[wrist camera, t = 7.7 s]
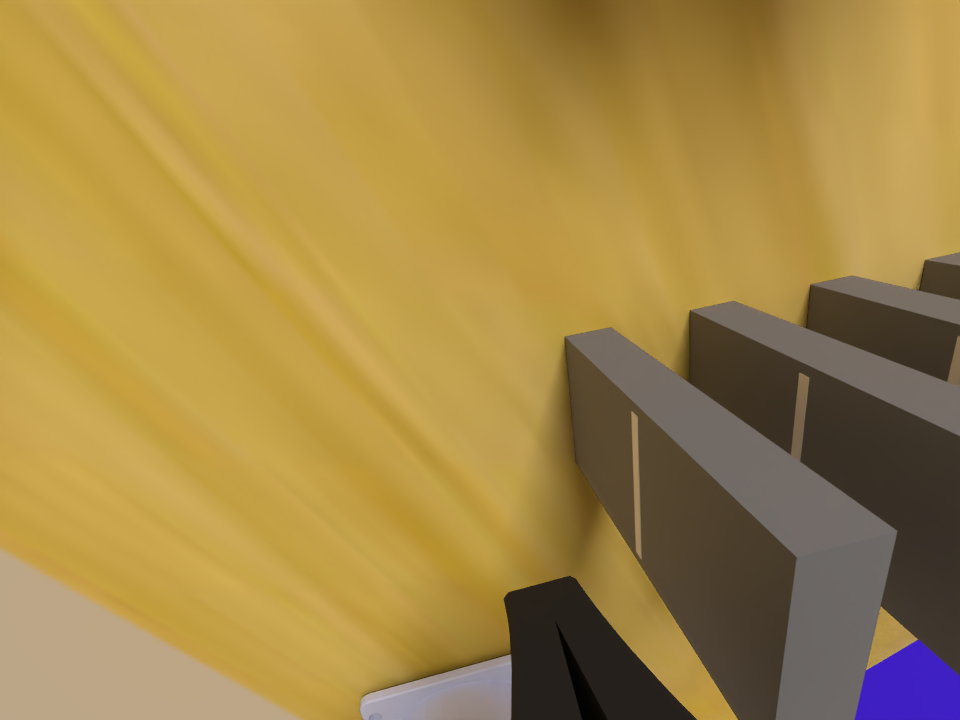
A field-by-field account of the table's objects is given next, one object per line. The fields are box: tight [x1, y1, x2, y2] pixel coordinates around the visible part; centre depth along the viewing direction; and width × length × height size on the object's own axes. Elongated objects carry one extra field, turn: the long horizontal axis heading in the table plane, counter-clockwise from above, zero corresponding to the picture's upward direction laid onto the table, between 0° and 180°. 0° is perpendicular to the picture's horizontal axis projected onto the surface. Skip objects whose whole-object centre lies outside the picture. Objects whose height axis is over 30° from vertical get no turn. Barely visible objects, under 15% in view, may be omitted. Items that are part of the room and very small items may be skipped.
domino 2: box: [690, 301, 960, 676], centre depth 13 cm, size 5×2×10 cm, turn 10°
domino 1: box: [565, 327, 897, 720], centre depth 13 cm, size 5×2×10 cm, turn 9°
